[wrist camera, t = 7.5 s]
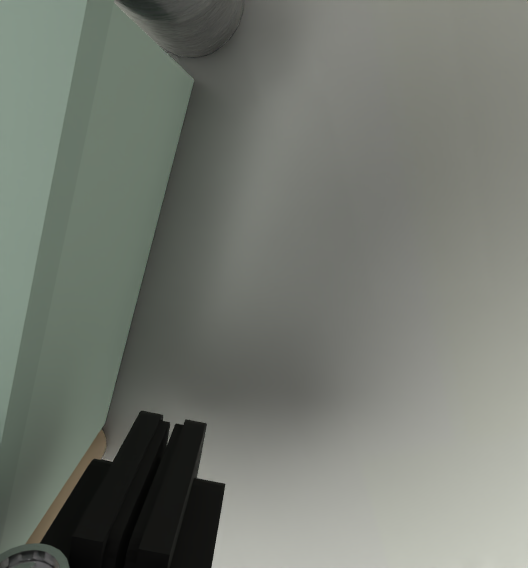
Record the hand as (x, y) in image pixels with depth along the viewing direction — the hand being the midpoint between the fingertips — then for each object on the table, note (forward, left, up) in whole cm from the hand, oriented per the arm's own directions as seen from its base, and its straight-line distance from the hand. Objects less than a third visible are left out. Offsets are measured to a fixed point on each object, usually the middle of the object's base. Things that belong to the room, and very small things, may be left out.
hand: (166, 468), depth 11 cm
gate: (-2, -3, -4) cm, 6 cm away
